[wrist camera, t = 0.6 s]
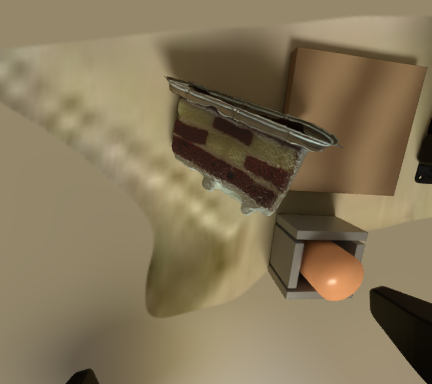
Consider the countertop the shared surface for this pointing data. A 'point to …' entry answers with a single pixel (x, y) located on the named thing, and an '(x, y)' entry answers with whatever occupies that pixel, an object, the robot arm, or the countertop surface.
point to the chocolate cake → (242, 145)
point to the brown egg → (330, 269)
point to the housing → (293, 247)
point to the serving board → (353, 119)
